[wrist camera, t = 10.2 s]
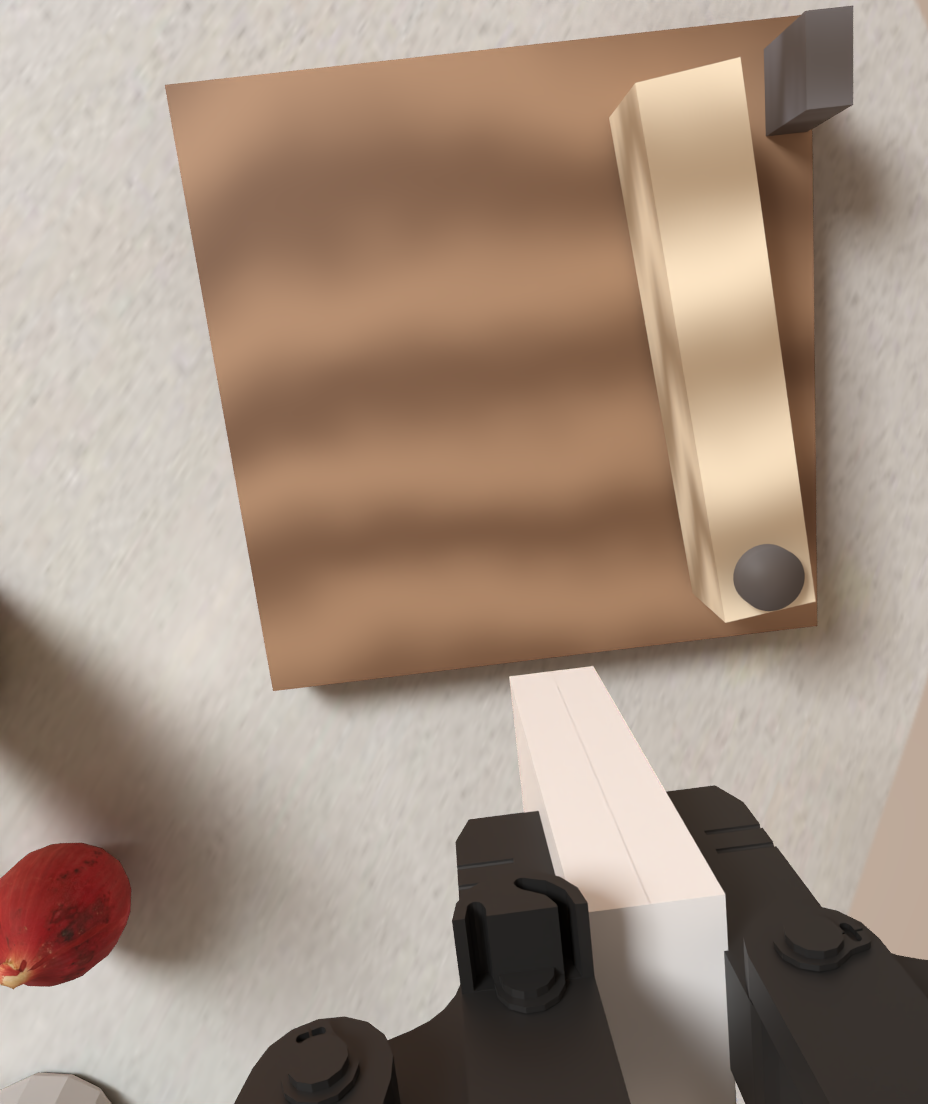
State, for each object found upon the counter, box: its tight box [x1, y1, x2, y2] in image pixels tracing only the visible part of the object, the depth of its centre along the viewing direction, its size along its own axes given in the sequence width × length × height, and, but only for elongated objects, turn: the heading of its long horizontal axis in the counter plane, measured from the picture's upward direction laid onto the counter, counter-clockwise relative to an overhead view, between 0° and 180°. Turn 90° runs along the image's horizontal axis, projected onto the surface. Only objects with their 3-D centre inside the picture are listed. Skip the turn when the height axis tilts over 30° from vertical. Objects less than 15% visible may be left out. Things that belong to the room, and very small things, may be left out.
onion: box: [0, 843, 131, 989], centre depth 37 cm, size 6×6×8 cm
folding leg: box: [609, 57, 816, 623], centre depth 30 cm, size 19×4×5 cm, turn 13°
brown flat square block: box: [165, 6, 853, 691], centre depth 33 cm, size 24×24×6 cm
